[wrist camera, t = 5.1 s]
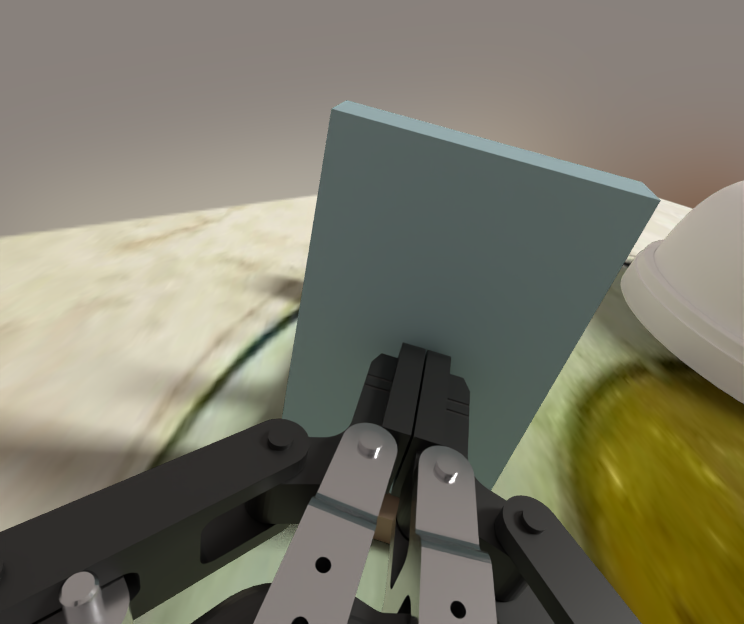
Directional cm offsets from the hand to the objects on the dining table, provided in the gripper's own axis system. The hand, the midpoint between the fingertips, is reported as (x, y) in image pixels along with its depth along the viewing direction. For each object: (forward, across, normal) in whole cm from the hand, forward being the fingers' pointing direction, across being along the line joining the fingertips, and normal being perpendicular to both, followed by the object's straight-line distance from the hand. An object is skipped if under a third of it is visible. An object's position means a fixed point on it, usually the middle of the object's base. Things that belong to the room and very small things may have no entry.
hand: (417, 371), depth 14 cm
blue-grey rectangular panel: (+3, 0, +6) cm, 7 cm away
